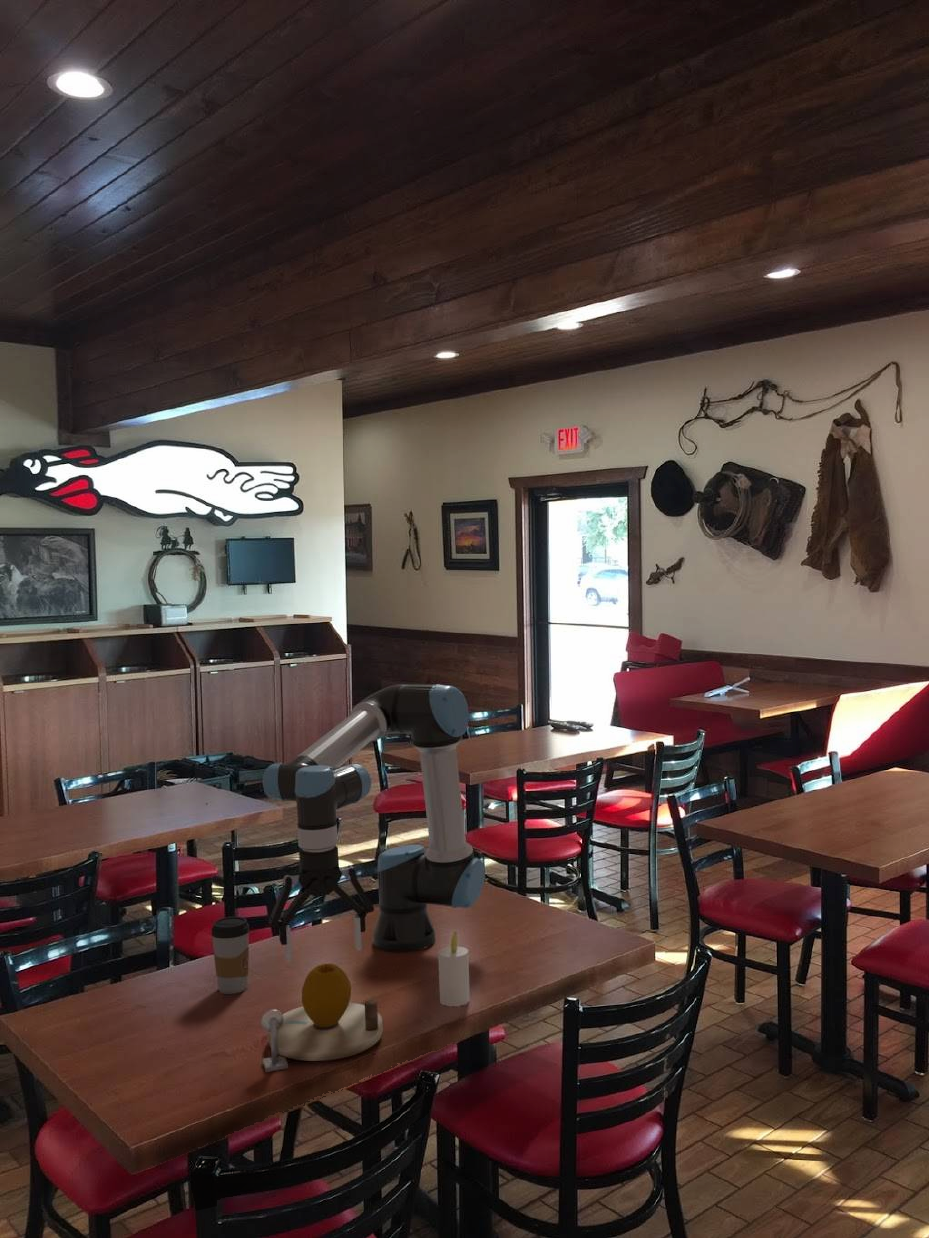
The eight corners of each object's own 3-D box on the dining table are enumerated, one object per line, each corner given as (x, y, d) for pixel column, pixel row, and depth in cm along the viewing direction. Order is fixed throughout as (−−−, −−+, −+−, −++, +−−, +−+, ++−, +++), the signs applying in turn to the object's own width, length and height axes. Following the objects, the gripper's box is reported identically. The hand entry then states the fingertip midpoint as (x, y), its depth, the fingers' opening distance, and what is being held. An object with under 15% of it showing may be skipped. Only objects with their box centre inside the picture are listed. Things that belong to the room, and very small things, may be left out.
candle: (447, 992, 227) (445, 923, 227) (474, 997, 225) (472, 927, 224) (433, 1003, 222) (431, 933, 221) (461, 1008, 219) (459, 937, 218)
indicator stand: (284, 1058, 199) (282, 1006, 198) (287, 1068, 195) (285, 1014, 194) (262, 1062, 197) (260, 1010, 197) (266, 1072, 194) (263, 1018, 193)
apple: (357, 1030, 203) (355, 970, 202) (306, 1038, 200) (304, 977, 200) (347, 1010, 212) (345, 953, 212) (299, 1018, 210) (297, 959, 209)
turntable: (397, 1015, 214) (396, 981, 214) (359, 1065, 193) (358, 1027, 192) (296, 1007, 220) (295, 974, 219) (249, 1055, 198) (247, 1018, 198)
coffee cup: (243, 997, 229) (240, 928, 228) (207, 995, 231) (204, 927, 230) (258, 982, 237) (255, 916, 236) (223, 980, 239) (220, 915, 238)
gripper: (376, 834, 212) (381, 937, 213) (250, 850, 204) (256, 957, 205) (385, 843, 205) (391, 950, 206) (256, 860, 197) (262, 971, 198)
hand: (324, 954), depth 206 cm, fingers open, 13 cm apart
